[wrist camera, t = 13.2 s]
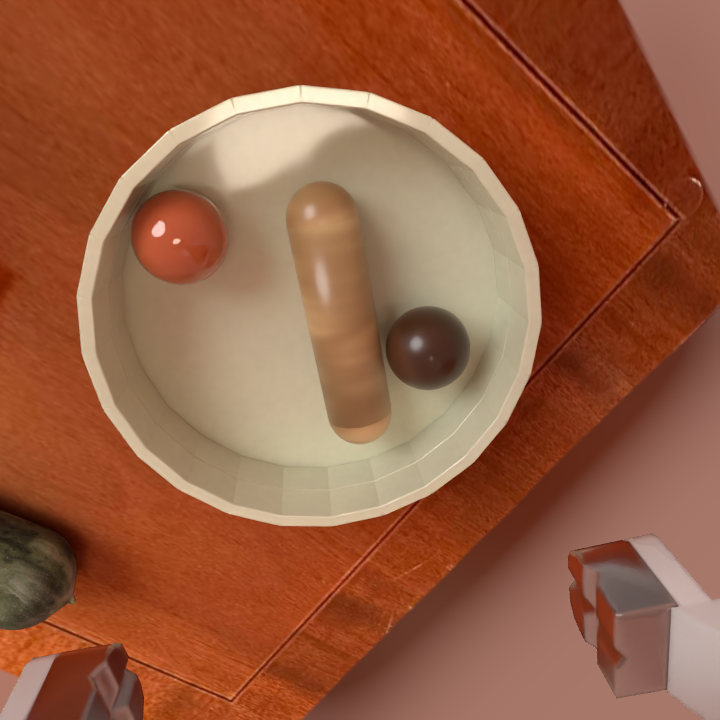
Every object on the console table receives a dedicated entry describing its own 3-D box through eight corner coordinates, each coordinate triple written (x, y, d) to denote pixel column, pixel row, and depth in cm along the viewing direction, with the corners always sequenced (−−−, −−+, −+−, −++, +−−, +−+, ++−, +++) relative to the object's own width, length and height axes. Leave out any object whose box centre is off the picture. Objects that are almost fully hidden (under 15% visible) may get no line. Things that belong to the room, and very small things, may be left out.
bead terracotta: (220, 165, 25) (125, 174, 22) (257, 250, 24) (165, 269, 22) (192, 213, 28) (107, 225, 26) (225, 289, 28) (142, 309, 25)
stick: (264, 193, 24) (335, 183, 23) (298, 180, 27) (362, 171, 26) (323, 455, 29) (384, 458, 28) (347, 422, 32) (403, 424, 31)
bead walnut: (403, 341, 31) (467, 304, 30) (427, 409, 30) (496, 373, 28) (359, 323, 28) (427, 279, 26) (383, 397, 27) (458, 356, 25)
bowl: (335, -11, 24) (343, -42, 20) (573, 319, 31) (621, 353, 26) (26, 288, 28) (-28, 321, 23) (301, 528, 34) (301, 591, 30)
